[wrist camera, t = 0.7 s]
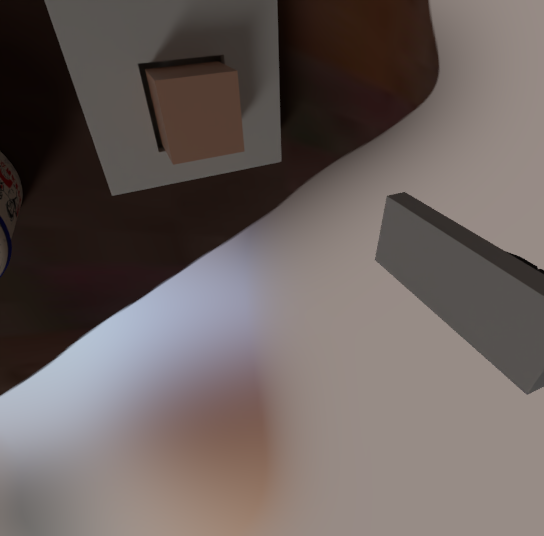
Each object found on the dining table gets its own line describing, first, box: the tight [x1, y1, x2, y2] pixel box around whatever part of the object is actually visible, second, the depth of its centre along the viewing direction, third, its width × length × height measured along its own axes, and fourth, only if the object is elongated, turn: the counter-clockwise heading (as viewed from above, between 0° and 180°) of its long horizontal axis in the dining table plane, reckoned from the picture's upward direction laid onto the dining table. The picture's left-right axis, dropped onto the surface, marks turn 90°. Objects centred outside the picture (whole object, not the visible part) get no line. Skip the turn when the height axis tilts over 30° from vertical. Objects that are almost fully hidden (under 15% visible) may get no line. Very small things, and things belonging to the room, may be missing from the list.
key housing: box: [44, 0, 281, 196], centre depth 24 cm, size 22×14×4 cm, turn 3°
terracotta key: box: [145, 61, 244, 165], centre depth 24 cm, size 5×5×4 cm
